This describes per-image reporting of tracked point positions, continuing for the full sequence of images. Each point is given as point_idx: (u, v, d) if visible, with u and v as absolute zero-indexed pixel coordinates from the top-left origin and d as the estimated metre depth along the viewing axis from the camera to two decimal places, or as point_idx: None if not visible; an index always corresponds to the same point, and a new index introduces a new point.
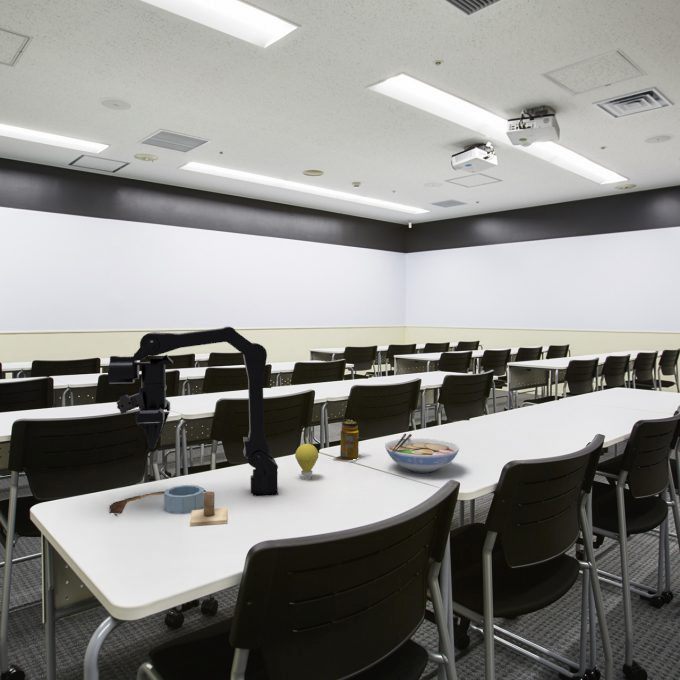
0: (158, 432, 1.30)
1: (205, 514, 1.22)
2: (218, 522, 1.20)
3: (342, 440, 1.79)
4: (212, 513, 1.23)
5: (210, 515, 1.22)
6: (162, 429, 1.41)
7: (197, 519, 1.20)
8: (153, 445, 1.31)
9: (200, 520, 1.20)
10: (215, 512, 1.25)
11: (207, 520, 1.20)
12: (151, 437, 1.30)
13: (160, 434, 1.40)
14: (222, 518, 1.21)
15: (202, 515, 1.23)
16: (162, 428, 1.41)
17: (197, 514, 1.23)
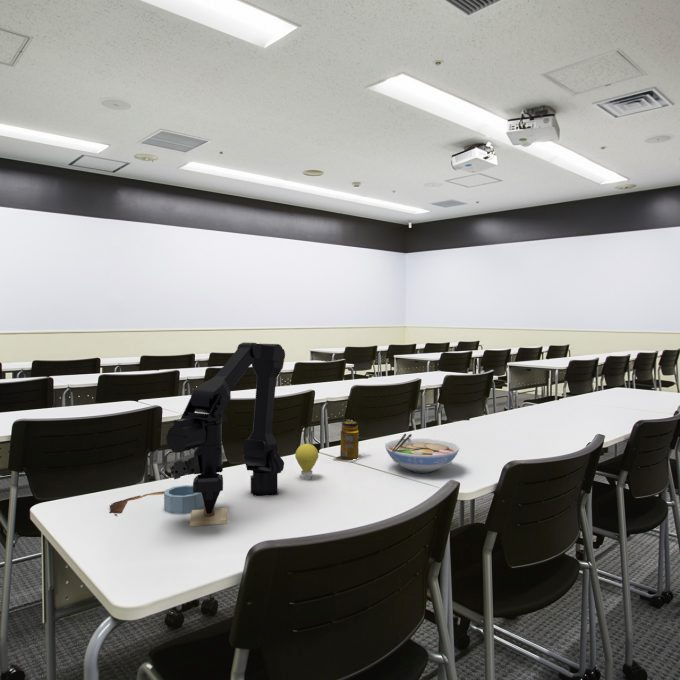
0: (216, 496, 1.21)
1: (205, 514, 1.22)
2: (218, 522, 1.20)
3: (342, 440, 1.79)
4: (212, 513, 1.23)
5: (210, 515, 1.22)
6: None
7: (197, 519, 1.20)
8: (210, 509, 1.21)
9: (200, 520, 1.20)
10: (215, 512, 1.25)
11: (207, 520, 1.20)
12: (209, 501, 1.21)
13: None
14: (222, 518, 1.21)
15: (202, 515, 1.23)
16: None
17: (197, 514, 1.23)
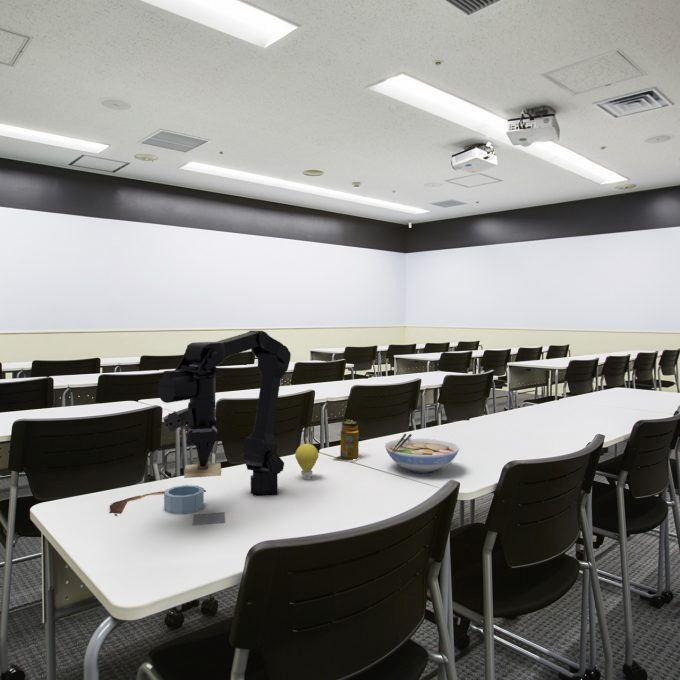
0: (210, 449, 1.22)
1: (199, 467, 1.24)
2: (212, 474, 1.21)
3: (342, 440, 1.79)
4: (206, 466, 1.24)
5: (204, 468, 1.24)
6: None
7: (191, 472, 1.22)
8: (204, 462, 1.23)
9: (194, 472, 1.21)
10: (209, 466, 1.26)
11: (201, 472, 1.21)
12: (203, 454, 1.22)
13: None
14: (216, 471, 1.22)
15: (196, 469, 1.24)
16: None
17: (191, 468, 1.25)
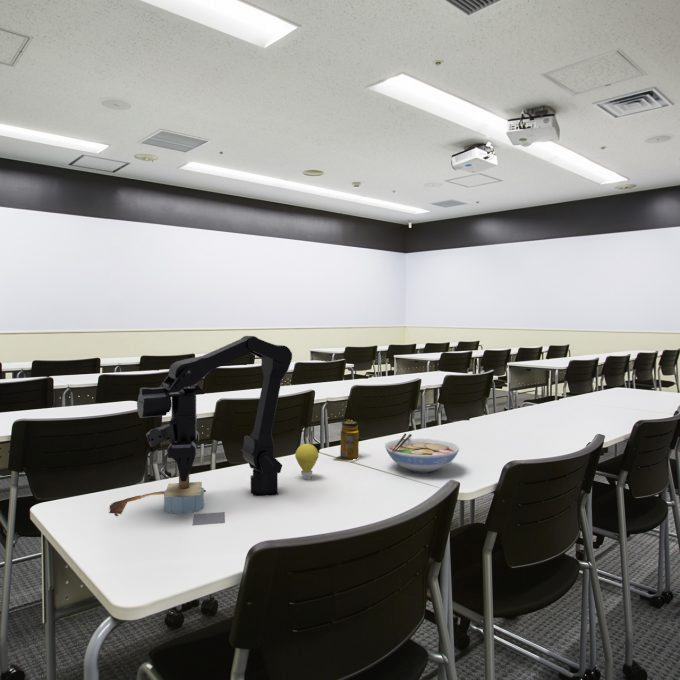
0: (190, 464, 1.27)
1: (180, 487, 1.30)
2: (192, 494, 1.27)
3: (342, 440, 1.79)
4: (187, 486, 1.30)
5: (185, 487, 1.30)
6: None
7: (172, 491, 1.28)
8: (185, 477, 1.28)
9: (175, 492, 1.27)
10: (190, 485, 1.32)
11: (181, 492, 1.27)
12: (183, 469, 1.27)
13: None
14: (196, 490, 1.28)
15: (177, 488, 1.30)
16: None
17: (173, 487, 1.31)
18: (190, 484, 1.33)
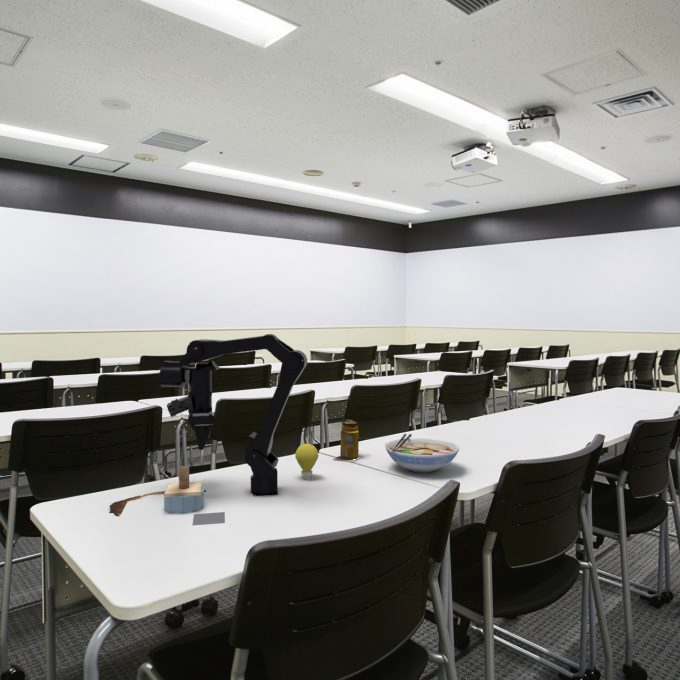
0: (208, 434, 1.38)
1: (180, 487, 1.30)
2: (192, 494, 1.27)
3: (342, 440, 1.79)
4: (187, 486, 1.30)
5: (185, 487, 1.30)
6: None
7: (172, 491, 1.28)
8: (202, 446, 1.38)
9: (175, 492, 1.27)
10: (190, 485, 1.32)
11: (181, 492, 1.27)
12: (201, 439, 1.38)
13: None
14: (196, 490, 1.28)
15: (177, 488, 1.30)
16: None
17: (173, 487, 1.31)
18: (190, 484, 1.33)
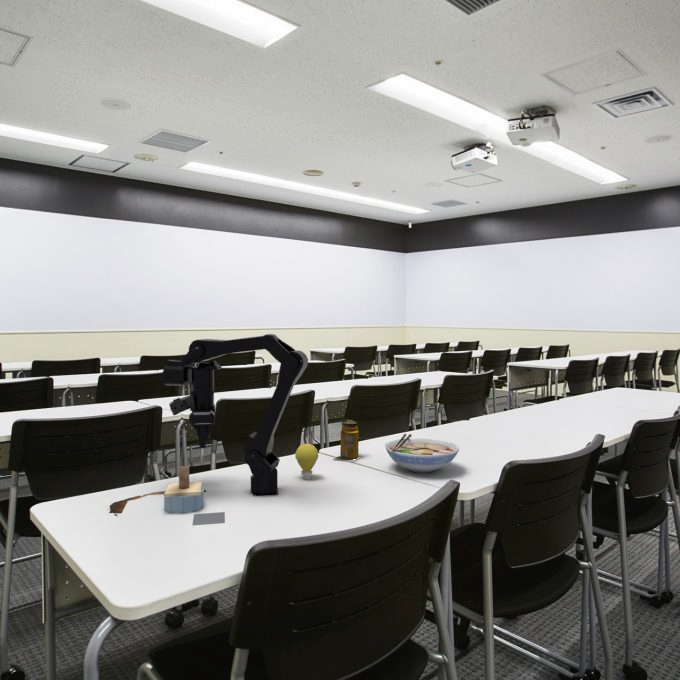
0: (209, 432, 1.39)
1: (180, 487, 1.30)
2: (192, 494, 1.27)
3: (342, 440, 1.79)
4: (187, 486, 1.30)
5: (185, 487, 1.30)
6: None
7: (172, 491, 1.28)
8: (204, 445, 1.40)
9: (175, 492, 1.27)
10: (190, 485, 1.32)
11: (181, 492, 1.27)
12: (202, 437, 1.39)
13: None
14: (196, 490, 1.28)
15: (177, 488, 1.30)
16: None
17: (173, 487, 1.31)
18: (190, 484, 1.33)
